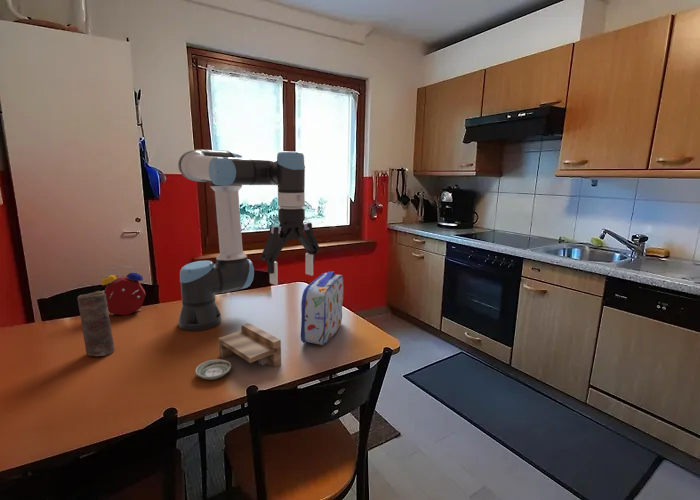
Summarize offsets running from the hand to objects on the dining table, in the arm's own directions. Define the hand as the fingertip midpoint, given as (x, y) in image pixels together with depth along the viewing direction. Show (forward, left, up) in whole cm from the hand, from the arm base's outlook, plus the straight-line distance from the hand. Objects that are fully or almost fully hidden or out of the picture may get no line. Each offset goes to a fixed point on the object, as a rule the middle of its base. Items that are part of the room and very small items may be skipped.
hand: (292, 279), depth 109 cm
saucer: (-9, -22, -27) cm, 35 cm away
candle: (-46, -41, -26) cm, 67 cm away
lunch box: (-7, +19, -26) cm, 34 cm away
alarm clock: (-76, -25, -26) cm, 84 cm away
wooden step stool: (-9, -11, -26) cm, 30 cm away
